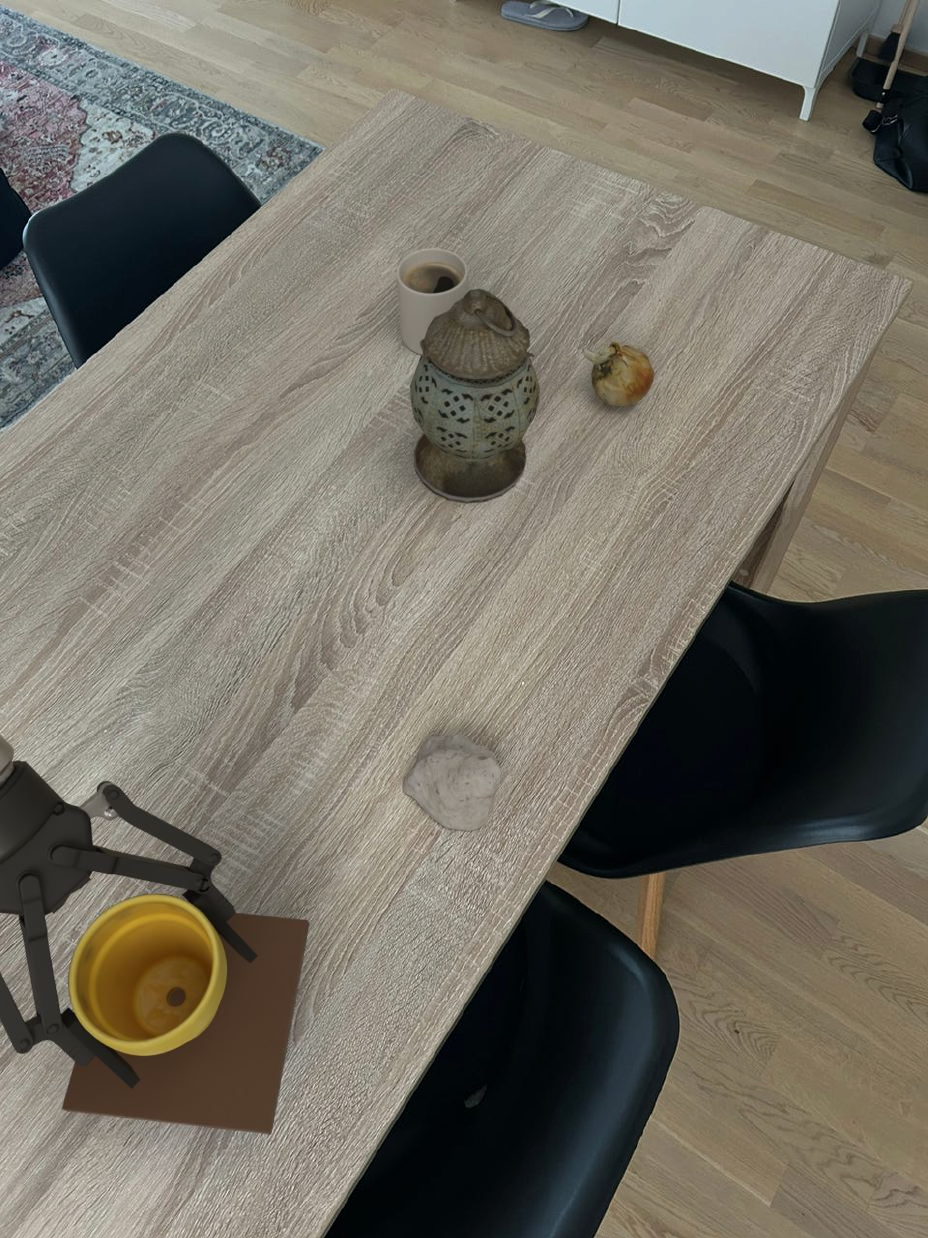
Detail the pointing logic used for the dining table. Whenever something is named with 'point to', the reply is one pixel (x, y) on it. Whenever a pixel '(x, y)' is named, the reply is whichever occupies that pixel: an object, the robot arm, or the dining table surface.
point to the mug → (427, 290)
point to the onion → (620, 374)
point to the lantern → (473, 400)
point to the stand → (215, 1045)
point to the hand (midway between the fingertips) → (191, 1014)
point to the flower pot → (147, 974)
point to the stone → (454, 781)
